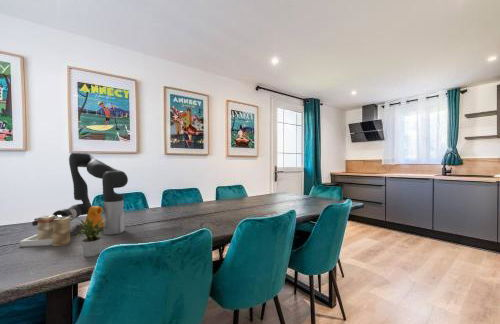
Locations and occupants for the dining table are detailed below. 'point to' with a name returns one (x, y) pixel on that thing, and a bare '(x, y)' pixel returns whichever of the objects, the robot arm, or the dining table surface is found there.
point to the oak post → (61, 231)
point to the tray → (35, 241)
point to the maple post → (45, 227)
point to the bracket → (95, 215)
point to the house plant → (91, 238)
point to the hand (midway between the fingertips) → (43, 223)
